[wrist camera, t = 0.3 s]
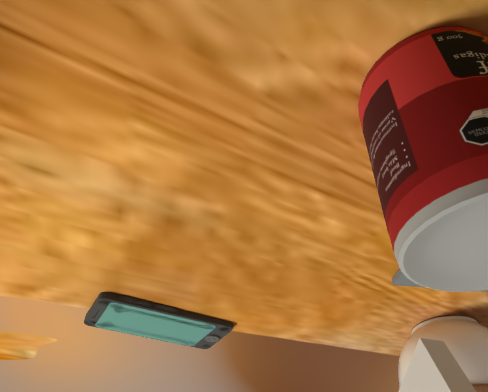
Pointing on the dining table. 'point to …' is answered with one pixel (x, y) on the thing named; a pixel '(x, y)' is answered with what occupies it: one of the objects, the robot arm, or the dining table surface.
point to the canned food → (432, 154)
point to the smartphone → (155, 321)
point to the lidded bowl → (454, 346)
